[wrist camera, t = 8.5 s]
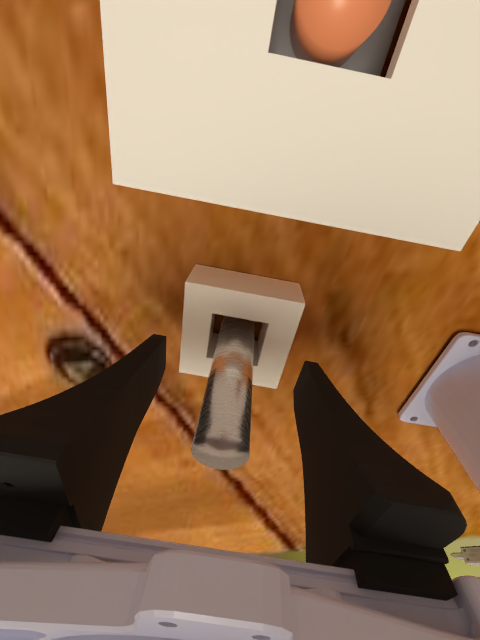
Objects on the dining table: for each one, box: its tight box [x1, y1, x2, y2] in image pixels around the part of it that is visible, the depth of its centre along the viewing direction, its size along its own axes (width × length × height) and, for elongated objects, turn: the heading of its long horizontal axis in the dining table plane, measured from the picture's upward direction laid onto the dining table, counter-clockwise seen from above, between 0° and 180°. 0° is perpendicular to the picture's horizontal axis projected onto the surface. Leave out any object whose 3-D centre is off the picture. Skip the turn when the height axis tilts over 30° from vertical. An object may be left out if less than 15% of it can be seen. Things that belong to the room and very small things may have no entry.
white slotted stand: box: [100, 0, 480, 251], centre depth 8 cm, size 13×12×4 cm
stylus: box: [191, 315, 255, 470], centre depth 13 cm, size 2×2×9 cm
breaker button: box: [269, 0, 405, 76], centre depth 9 cm, size 5×5×3 cm
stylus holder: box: [179, 264, 306, 389], centre depth 16 cm, size 6×6×2 cm
